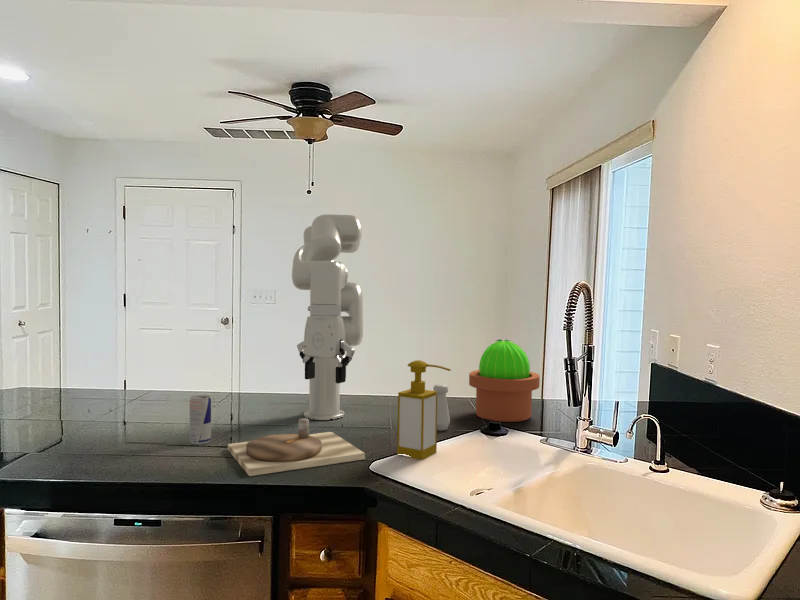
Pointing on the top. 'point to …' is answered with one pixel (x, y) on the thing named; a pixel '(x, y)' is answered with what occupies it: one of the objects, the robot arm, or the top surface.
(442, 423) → the salt shaker
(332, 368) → the robot arm
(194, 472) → the top surface
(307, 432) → the dial
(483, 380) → the potted cactus
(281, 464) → the wooden cutting board
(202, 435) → the energy drink
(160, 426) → the top surface
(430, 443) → the soap bottle
